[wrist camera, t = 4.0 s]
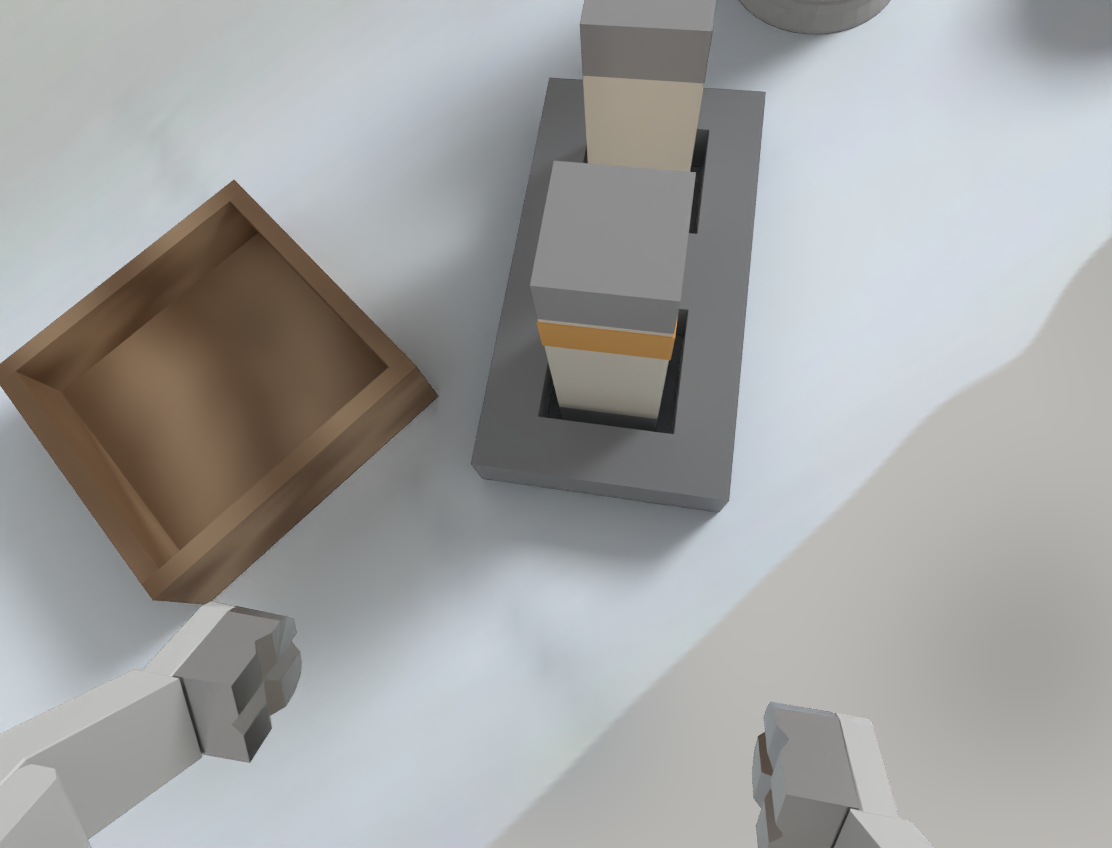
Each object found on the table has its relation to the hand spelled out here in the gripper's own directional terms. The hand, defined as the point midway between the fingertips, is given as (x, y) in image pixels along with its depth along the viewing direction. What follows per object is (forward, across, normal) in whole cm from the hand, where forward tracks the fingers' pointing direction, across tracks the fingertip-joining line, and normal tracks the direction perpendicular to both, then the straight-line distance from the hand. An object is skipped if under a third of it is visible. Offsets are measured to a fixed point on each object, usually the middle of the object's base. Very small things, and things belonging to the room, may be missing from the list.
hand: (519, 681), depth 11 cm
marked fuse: (+19, 0, +3) cm, 20 cm away
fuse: (+26, 0, -3) cm, 26 cm away
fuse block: (+22, 0, 0) cm, 23 cm away
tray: (+17, +17, +5) cm, 25 cm away
